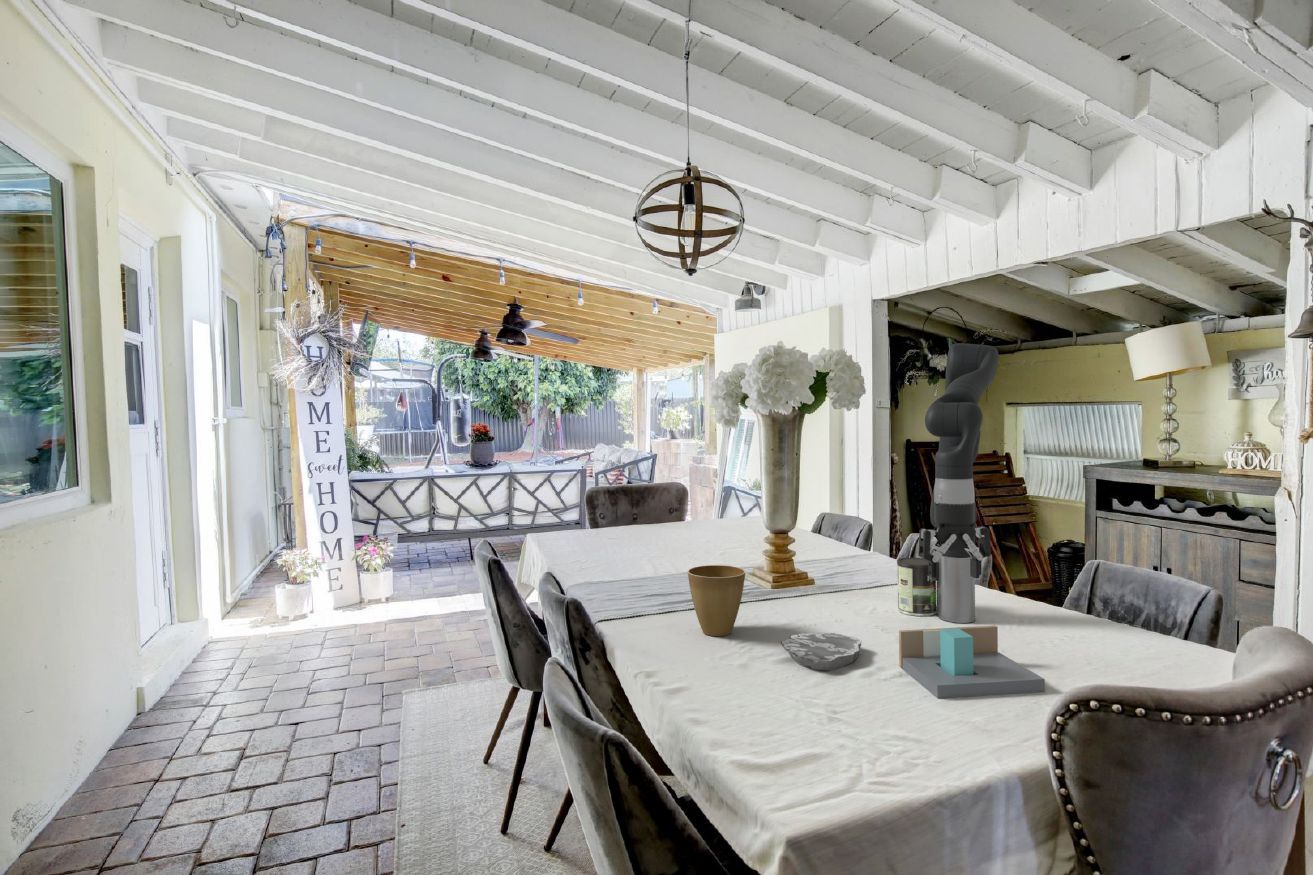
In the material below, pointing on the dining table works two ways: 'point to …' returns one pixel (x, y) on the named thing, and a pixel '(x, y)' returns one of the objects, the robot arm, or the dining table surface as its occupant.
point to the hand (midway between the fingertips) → (954, 578)
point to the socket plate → (988, 665)
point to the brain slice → (822, 650)
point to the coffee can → (915, 588)
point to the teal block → (956, 652)
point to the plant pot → (716, 596)
